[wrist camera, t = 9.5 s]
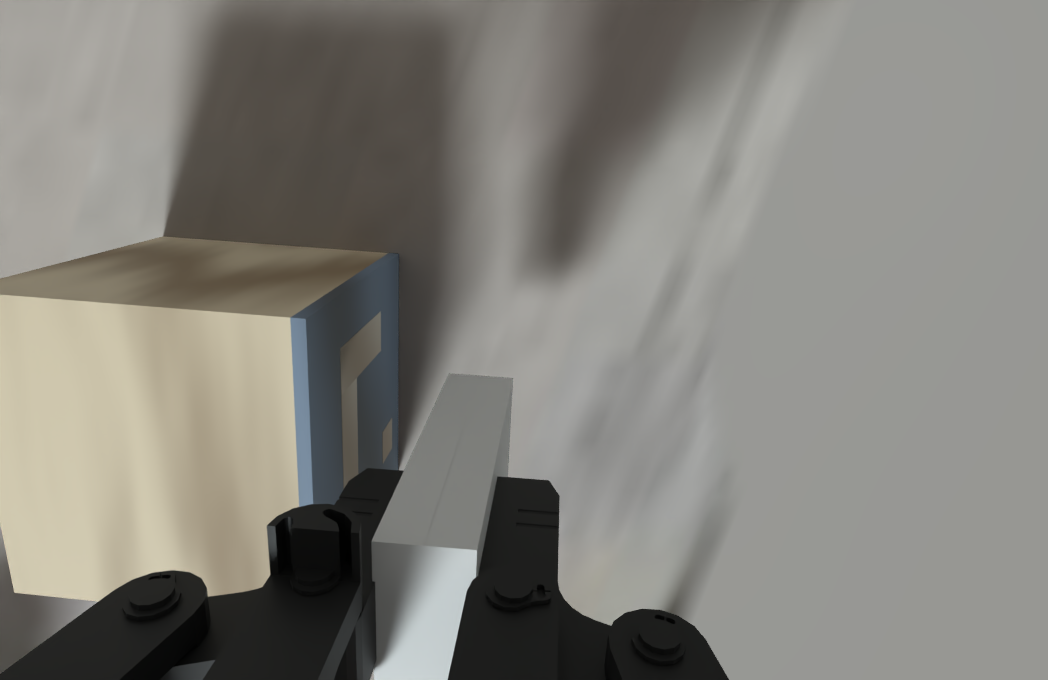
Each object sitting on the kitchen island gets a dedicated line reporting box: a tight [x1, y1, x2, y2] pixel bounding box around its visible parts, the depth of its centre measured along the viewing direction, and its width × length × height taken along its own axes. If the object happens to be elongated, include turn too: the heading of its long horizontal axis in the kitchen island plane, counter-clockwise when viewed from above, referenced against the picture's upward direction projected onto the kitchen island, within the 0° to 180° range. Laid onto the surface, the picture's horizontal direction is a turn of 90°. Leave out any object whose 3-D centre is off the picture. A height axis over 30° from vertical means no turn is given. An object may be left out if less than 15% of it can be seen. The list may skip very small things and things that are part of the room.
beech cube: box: [0, 237, 399, 602], centre depth 17 cm, size 7×7×7 cm
